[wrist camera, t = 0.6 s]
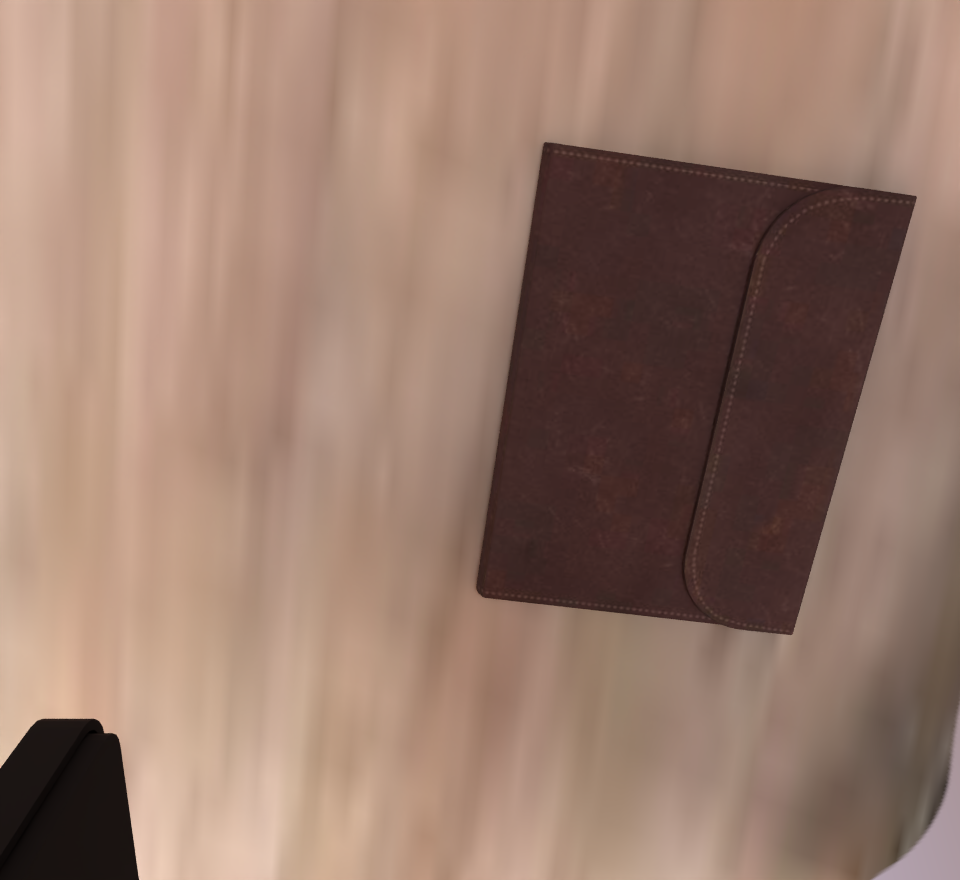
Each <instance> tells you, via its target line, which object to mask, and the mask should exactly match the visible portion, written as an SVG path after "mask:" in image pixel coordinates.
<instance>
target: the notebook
mask: <svg viewBox="0 0 960 880" xmlns="http://www.w3.org/2000/svg"><path fill="white" fill-rule="evenodd" d="M916 198H917V197H916V196H912V195H905V194H898V193H891V192H884V191H878V190H871V189H864V188H856V187H849V186H843V185H836V184H829V183H822V182H815V181H808V180H802V179H795V178H788V177H781V176H774V175H767V174H761V173H754V172H747V171H740V170H733V169H726V168H720V167H713V166H706V165H699V164H692V163H685V162H679V161H672V160H665V159H658V158H651V157H644V156H638V155H631V154H624V153H617V152H610V151H603V150H597V149H590V148H583V147H576V146H569V145H562V144H556V143H547V142H545V143H544V146H543V153H542V159H541V166H540V173H539V179H538V186H537V192H536V199H535V205H534V212H533V219H532V225H531V232H530V238H529V245H528V251H527V258H526V264H525V271H524V278H523V284H522V291H521V297H520V304H519V310H518V317H517V324H516V330H515V337H514V343H513V350H512V356H511V363H510V370H509V376H508V383H507V389H506V396H505V402H504V409H503V416H502V422H501V429H500V435H499V442H498V448H497V455H496V462H495V468H494V475H493V481H492V488H491V494H490V501H489V508H488V514H487V521H486V527H485V534H484V540H483V547H482V554H481V560H480V567H479V573H478V580H477V586H476V588H477V591H478V593H479V594H480V595H481V596H482V597H485V598H493V599H501V600H510V601H519V602H528V603H537V604H545V605H554V606H563V607H572V608H581V609H590V610H598V611H607V612H616V613H625V614H634V615H642V616H651V617H660V618H669V619H678V620H686V621H695V622H704V623H713V624H722V625H725V626H728V627H731V628H735V629H741V630H749V631H759V632H768V633H777V634H787V635H792V634H793V631H794V627H795V624H796V620H797V617H798V613H799V610H800V606H801V603H802V599H803V596H804V592H805V589H806V585H807V582H808V578H809V575H810V571H811V567H812V564H813V560H814V557H815V553H816V550H817V546H818V543H819V539H820V536H821V532H822V529H823V525H824V522H825V518H826V515H827V511H828V508H829V504H830V501H831V497H832V494H833V490H834V487H835V483H836V480H837V476H838V473H839V469H840V465H841V462H842V458H843V455H844V451H845V448H846V444H847V441H848V437H849V434H850V430H851V427H852V423H853V420H854V416H855V413H856V409H857V406H858V402H859V399H860V395H861V392H862V388H863V385H864V381H865V378H866V374H867V371H868V367H869V364H870V360H871V356H872V353H873V349H874V346H875V342H876V339H877V335H878V332H879V328H880V325H881V321H882V318H883V314H884V311H885V307H886V304H887V300H888V297H889V293H890V290H891V286H892V283H893V279H894V276H895V272H896V269H897V265H898V262H899V258H900V254H901V251H902V247H903V244H904V240H905V237H906V233H907V230H908V226H909V223H910V219H911V216H912V212H913V209H914V205H915V202H916Z"/></svg>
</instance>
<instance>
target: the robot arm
mask: <svg viewBox="0 0 960 880" xmlns="http://www.w3.org/2000/svg"><path fill="white" fill-rule="evenodd" d="M0 880H139V877H138V870H137V863H136V856H135V848H134V841H133V834H132V827H131V819H130V812H129V805H128V798H127V790H126V783H125V776H124V769H123V762H122V754H121V747H120V742H119V739H118V737H117V735H116V734H113V733H104V731H103V727H102V725H101V723H100V722H99V721H98V720H96V719H41V720H38V721H36V723H35V724H34V725H33V726H32V727H31V728H30V729H29V730H28V732H27V733H26V734H25V736H24V737H23V738H22V740H21V741H20V743H19V744H18V745H17V747H16V748H15V749H14V751H13V752H12V753H11V755H10V756H9V757H8V759H7V760H6V761H5V763H4V764H3V765H2V767H1V768H0Z"/></svg>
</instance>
